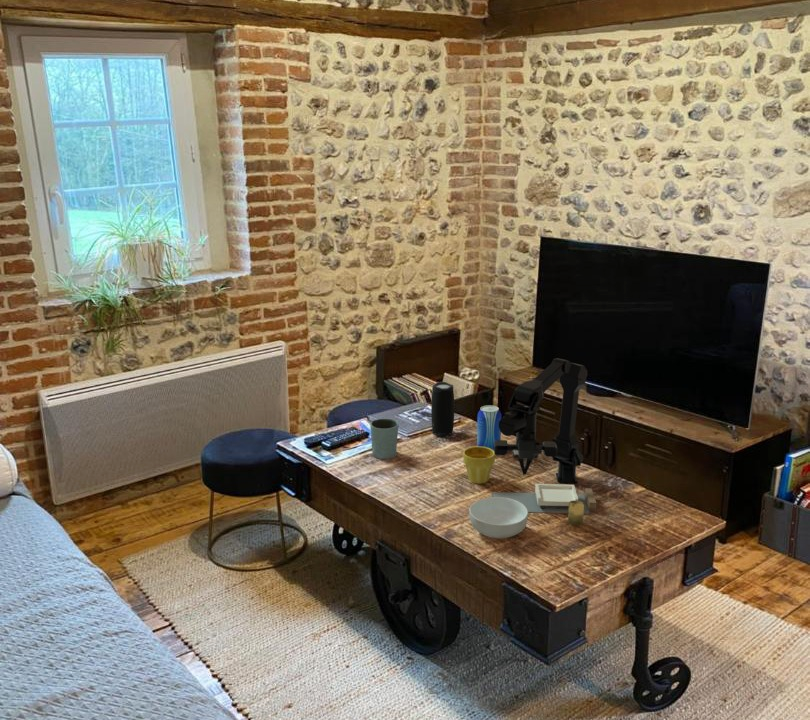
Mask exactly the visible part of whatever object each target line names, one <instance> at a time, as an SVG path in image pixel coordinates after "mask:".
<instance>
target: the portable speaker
mask: <svg viewBox="0 0 810 720" xmlns="http://www.w3.org/2000/svg"><path fill="white" fill-rule="evenodd" d="M430 400H431V405H430V406H431V407H430V408H431V410H430V411H431V413H430V415H431V416H430V420H431V431H432V434H434V435H436V436H437V438H448V437H449V435H450V434H454V433H453V432H454V424H455V393H454V384H451V383H448V382H446V381H438V382H436V383H434V384H433V385H432V390H431V399H430Z"/></svg>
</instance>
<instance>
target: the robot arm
mask: <svg viewBox="0 0 810 720" xmlns="http://www.w3.org/2000/svg"><path fill="white" fill-rule="evenodd" d="M587 377H588V370H587V368H586V366H585V365H583V364H578V363H574V362H571V361H569V360H568V359H564V358H563V359H562V358H557V357H556V358H553V359H552V361H551V363H550V364H549V365H548V366H546V368H544V369H543V370H542V371H541V372H540V373H539V374H538V375H537V376H536V377H534V378H533V379H532V380H531V379H530V380H528V381H524V382H522V383H520V384H519V385H517V386H516V388H515V390H514V391H513V393H512V396H511V398H510V401H509V403H508V406H507V409H508V410H510V411H507V412H504V416H503V417H501V419H500V421H499V429H500V431H501V435H504V436H505V437H506V436H507V437H511V436H513V435H515V434H516V435H515V437H516V438H515V443H513V444H511V443H510V444H508V440H503V439H501V440H496V441H495V442H494V454H495V456H506V455H508V453H509V452H512V455H513V456H512V457H513V458H514V459H516V460H517V461H518V463H519V465H520V468H521V472H522V475H523V476H526V475H527V473H528V471H529V469H530V465H531V463H532V462H533V460H535V459H538V457H539V455H541V454H542V452H543V454H544V455H545V456H546V458H552V461H556V462H558V467H557V469H558V470H557V471H558V472H555V476H556V481H557V483H559V484H561V483H562V484H563V483H564V484H565V483H566V484H567V483H568V484H569V483H571V484H577V483H578V478H577V474H576V473H577V467H581V465H582V464H583V461H584V455H583V454H582V453H581V452H580V450H579V441H578V439H577V436H576V434H575V433H576V432H575V431H576V422H577V415H578V406H579V405H578V403H579V395H580V391H581V389H582V388H583V387H584V386H585V384H586V380H587ZM557 381H559V384H560V385H561V388H562V390H563V391H562V392H563V393H562V399H561V401H562V402H561V412H560V420H559V429H558V434H557V435H556V436H555V437H554V438H552V440H551V441H548V440H547V441H545V440H544V441H543V442H542V441H537V440H536V435H537V434H536V432H537V411H539V410H541V407H540V406H539V405H540V403H541V402H542V401H543V399H544V393H545V392H546V391H548V389H549V388H550V387H551V386H553V384H554V383H556V382H557ZM524 459H525V461H524Z"/></svg>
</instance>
